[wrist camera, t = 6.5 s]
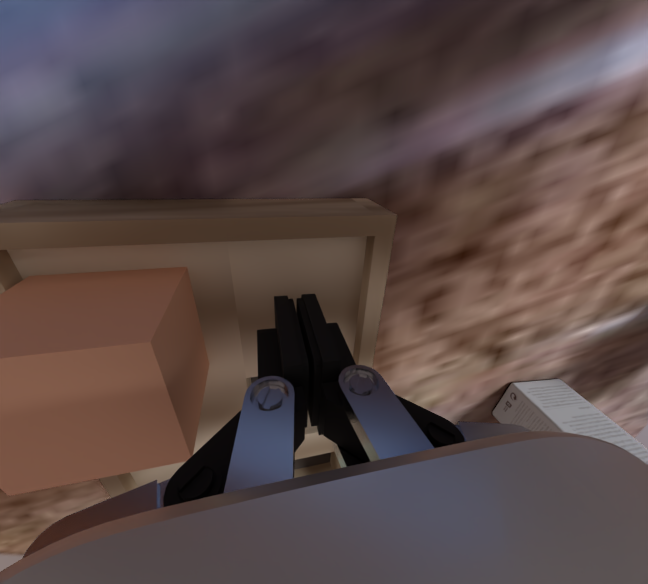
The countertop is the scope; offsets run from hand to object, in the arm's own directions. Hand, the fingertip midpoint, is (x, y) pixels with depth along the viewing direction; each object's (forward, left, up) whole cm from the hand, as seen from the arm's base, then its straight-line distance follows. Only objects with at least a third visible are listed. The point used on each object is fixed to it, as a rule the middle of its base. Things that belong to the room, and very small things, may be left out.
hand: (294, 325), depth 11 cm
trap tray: (+9, -3, -4) cm, 10 cm away
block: (0, -6, -1) cm, 6 cm away
